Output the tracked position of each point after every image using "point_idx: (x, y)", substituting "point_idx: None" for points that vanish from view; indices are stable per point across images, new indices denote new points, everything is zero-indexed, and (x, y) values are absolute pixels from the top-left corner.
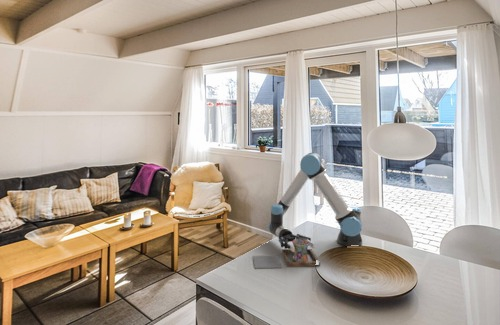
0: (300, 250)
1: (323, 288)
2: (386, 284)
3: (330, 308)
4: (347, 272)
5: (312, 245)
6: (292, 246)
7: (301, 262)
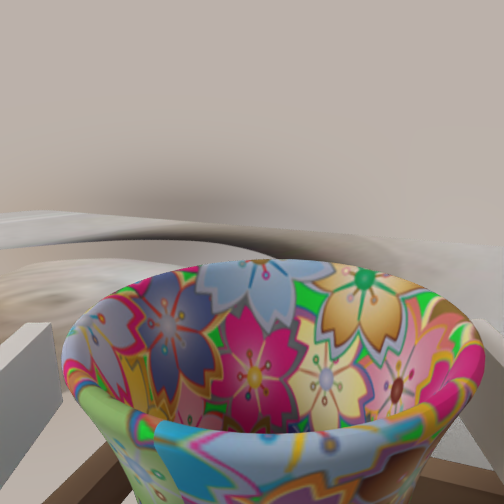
0: (335, 378)
1: None
2: (50, 268)
3: (378, 252)
4: None
5: (45, 374)
6: (499, 337)
7: None
